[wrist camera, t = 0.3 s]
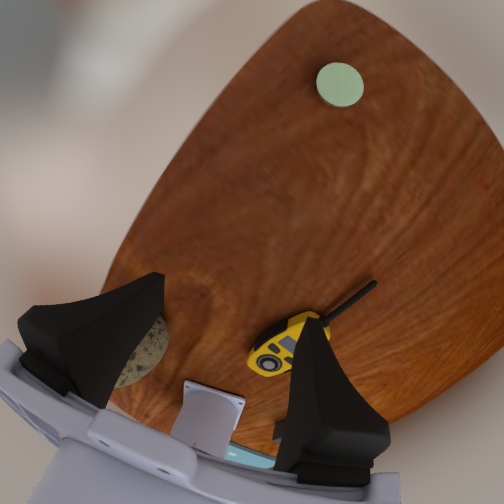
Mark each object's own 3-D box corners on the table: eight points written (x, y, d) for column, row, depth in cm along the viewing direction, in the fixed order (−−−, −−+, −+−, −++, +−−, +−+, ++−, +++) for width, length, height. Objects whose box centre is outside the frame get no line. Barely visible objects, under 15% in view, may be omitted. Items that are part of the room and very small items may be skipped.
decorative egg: (165, 345, 30) (126, 411, 22) (124, 314, 30) (75, 373, 21) (188, 319, 28) (145, 394, 19) (142, 283, 27) (84, 347, 18)
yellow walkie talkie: (235, 361, 26) (360, 269, 20) (239, 348, 28) (357, 257, 21) (271, 385, 27) (395, 306, 20) (273, 372, 29) (391, 293, 22)
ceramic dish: (353, 113, 17) (358, 112, 15) (311, 101, 17) (312, 99, 15) (362, 75, 16) (367, 70, 14) (320, 63, 16) (321, 57, 14)
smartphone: (282, 459, 39) (205, 430, 38) (281, 464, 38) (203, 435, 37) (260, 467, 43) (190, 440, 42) (259, 472, 42) (188, 444, 41)
